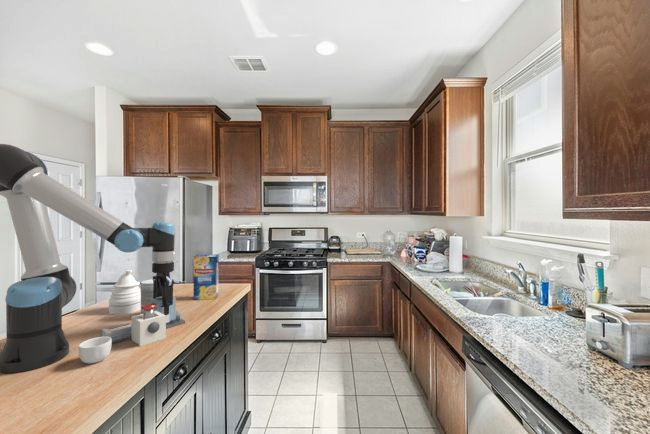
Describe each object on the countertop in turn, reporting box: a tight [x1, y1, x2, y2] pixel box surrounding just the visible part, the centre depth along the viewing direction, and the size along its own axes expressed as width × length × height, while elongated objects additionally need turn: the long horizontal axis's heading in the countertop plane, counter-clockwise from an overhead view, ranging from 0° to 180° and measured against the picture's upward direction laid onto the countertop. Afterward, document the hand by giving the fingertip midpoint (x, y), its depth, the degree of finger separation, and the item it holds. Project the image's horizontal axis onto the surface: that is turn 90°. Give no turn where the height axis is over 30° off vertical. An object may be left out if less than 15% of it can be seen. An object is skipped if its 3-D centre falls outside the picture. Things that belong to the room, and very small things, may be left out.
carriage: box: [152, 296, 177, 321], centre depth 114 cm, size 7×5×9 cm, turn 141°
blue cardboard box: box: [193, 254, 220, 301], centre depth 151 cm, size 7×11×22 cm, turn 100°
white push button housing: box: [130, 311, 167, 347], centre depth 101 cm, size 8×8×8 cm
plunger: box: [141, 303, 156, 320], centre depth 101 cm, size 4×4×8 cm
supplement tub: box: [140, 278, 153, 314], centre depth 125 cm, size 10×10×15 cm
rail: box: [100, 310, 186, 345], centre depth 109 cm, size 25×10×3 cm, turn 141°
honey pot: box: [108, 269, 141, 315], centre depth 132 cm, size 13×13×18 cm
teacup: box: [78, 336, 113, 365], centre depth 88 cm, size 10×8×5 cm
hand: (162, 321), depth 114 cm, fingers closed on carriage, 5 cm apart
